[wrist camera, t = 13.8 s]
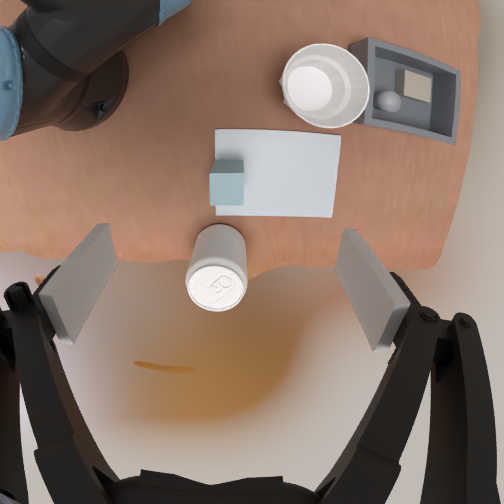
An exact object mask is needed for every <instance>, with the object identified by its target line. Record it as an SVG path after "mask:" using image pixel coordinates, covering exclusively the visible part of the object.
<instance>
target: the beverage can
mask: <svg viewBox="0 0 504 504" xmlns="http://www.w3.org/2000/svg"><path fill="white" fill-rule="evenodd" d="M186 287H187V290H188V293H189V295H190V297H191V299H192V300H193V301H194V302H195V303H196V304H197V305H198V306H200V307H202V308H204V309H206V310H210V311H224V310H228V309H230V308H232V307H234V306H235V305H237V304H238V303H239V302H240V300H241V298H242V297H243V295H244V294H245V292H246V289H247V264H246V245H245V241H244V238H243V236H242V235H241V234H240V233H239V232H238V231H237V230H236V229H234V228H233V227H231V226H228V225H223V224H217V225H212V226H209V227H207V228H205V229H204V230H203V231H201V233H200V234H199V235H198V237H197V239H196V242H195V245H194V249H193V252H192V256H191V260H190V263H189V267H188V271H187V274H186Z"/></svg>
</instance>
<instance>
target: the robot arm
mask: <svg viewBox="0 0 504 504" xmlns="http://www.w3.org/2000/svg"><path fill="white" fill-rule="evenodd" d="M21 1H22V2H24V3H25V4H26V5H28V7H27V8H26V9H25V10H24V11H23V12H22V13H21V14H20V16H19V17H18V18H17V19H16V20H15V21H14V22H13V23H12V25H11V26H10V27H9V28H7V27H0V141H4V140H7V139H8V138H10V137H12V136H15V135H18V134H22V133H25V132H28V131H32V130H36V129H39V128H43V127H47V126H51V125H52V126H55V127H58V128H61V129H63V130H67V131H80V130H84V129H88V128H92V127H94V126H97V125H98V124H100V123H102V122H103V121H105V120H106V119H107V118H108V117H109V116H110V115H111V114H112V113H113V112H114V111H115V110H116V108H117V107H118V105H119V104H120V102H121V100H122V98H123V96H124V93H125V91H126V87H127V83H128V64H127V60H126V57H125V55H124V53H123V52H122V50H121V49H122V48H124V47H125V46H127V45H128V44H129V43H131V42H132V41H134V40H135V39H137V38H138V37H140V36H141V35H143V34H144V33H146V32H147V31H149V30H150V29H152V28H153V27H155V26H157V27H158V26H160V25H161V24H163V22H164V20H166V19H168V18H169V17H171V16H172V15H174V14H176V13H177V12H179V11H181V10H182V9H184V8H186V7H187V6H188V5H189V4H190V3H191V2H192V0H21ZM116 267H117V261H116V256H115V251H114V246H113V240H112V235H111V229H110V224H97V225H96V226H95V228H94V229H93V230H92V231H91V232H90V233H89V234H88V235H87V236H86V237H85V238H84V240H83V241H82V242H81V243H80V244H79V245H78V246H77V247H76V249H75V250H74V251H73V252H72V253H71V254H70V255H69V257H68V258H67V259H66V260H65V261H64V263H63V264H62V265H59V266H58V267H56V268H55V269H53V270H52V271H51V272H50V273H49V275H48V276H47V278H45V279H44V281H43V283H41V284H40V286H39V287H38V288H37V290H36V291H35V292H34V293H33V295H32V294H31V291H30V289H29V286H28V284H27V283H26V282H18V283H14V284H13V285H11V286H10V287H8V288H7V289H6V291H5V292H4V298H5V300H6V302H7V304H8V306H9V308H10V310H6V311H2V310H1V308H0V504H29V501H28V491H27V484H26V478H25V471H24V464H23V457H22V446H21V433H20V407H19V405H20V404H19V402H20V399H19V398H20V384H21V388H22V393H23V397H24V401H25V405H26V409H27V413H28V416H29V420H30V423H31V427H32V430H33V433H34V436H35V438H36V442H37V446H38V449H37V450H35V451H34V456H35V460H36V463H37V465H38V468H39V471H40V473H41V475H42V478H43V480H44V483H45V485H46V487H47V489H48V491H49V494H50V496H51V498H52V500H53V502H54V504H385V502H386V500H387V498H388V496H389V494H390V492H391V491H392V489H393V486H394V484H395V482H396V480H397V478H398V476H399V473H400V471H401V466H400V465H399V459H400V457H401V455H402V452H403V450H404V448H405V445H406V443H407V440H408V438H409V435H410V432H411V430H412V427H413V425H414V422H415V419H416V416H417V413H418V410H419V407H420V404H421V401H422V397H423V394H424V391H425V388H426V384H427V380H428V377H429V373H430V371H431V410H430V432H429V444H428V454H427V463H426V470H425V478H424V483H423V489H422V495H421V501H420V504H501V503H500V499H499V493H498V488H497V484H496V476H497V449H496V448H497V447H496V429H495V417H494V408H493V400H492V393H491V387H490V381H489V375H488V370H487V365H486V360H485V356H484V351H483V347H482V343H481V339H480V335H479V331H478V328H477V324H476V322H475V321H474V320H473V318H472V317H471V316H469V315H468V314H465V313H456V314H455V315H454V317H453V319H452V321H449V320H443V319H440V317H439V315H438V313H436V312H435V311H434V310H433V309H431V308H429V307H425V306H421V305H420V303H419V302H418V301H417V299H416V298H415V296H414V295H413V293H412V292H411V291H409V288H408V287H407V286H406V285H405V283H404V281H403V280H402V279H401V278H400V277H399V276H398V275H397V274H395V273H394V272H388V270H387V269H386V268H385V266H384V265H383V264H382V262H381V261H380V260H379V258H378V257H377V256H376V254H375V253H374V252H373V250H372V249H371V248H370V247H369V245H368V244H367V243H366V241H365V240H364V239H363V238H362V236H361V235H360V234H359V233H358V231H357V230H356V229H344V228H343V233H342V238H341V243H340V248H339V252H338V257H337V261H336V266H335V272H336V273H337V276H338V278H339V280H340V282H341V284H342V286H343V288H344V290H345V292H346V294H347V296H348V298H349V300H350V302H351V304H352V306H353V309H354V310H355V313H356V315H357V317H358V319H359V322H360V324H361V325H362V328H363V330H364V332H365V335H366V337H367V339H368V341H369V344H370V346H371V348H372V350H373V353H374V352H382V351H388V350H389V348H390V346H391V344H392V342H394V344H395V346H396V349H395V351H394V353H393V354H392V356H391V358H390V360H389V362H388V367H387V369H386V372H385V373H384V376H383V378H382V380H381V382H380V384H379V386H378V389H377V391H376V393H375V395H374V397H373V399H372V401H371V403H370V405H369V407H368V409H367V411H366V413H365V414H364V417H363V418H362V420H361V422H360V424H359V425H358V427H357V429H356V431H355V432H354V434H353V436H352V438H351V439H350V441H349V443H348V444H347V446H346V448H345V449H344V451H343V452H342V454H341V456H340V457H339V459H338V460H337V462H336V464H335V465H334V467H333V468H332V469H331V471H330V472H329V474H328V475H327V476H326V477H325V479H324V480H323V481H322V482H321V484H320V485H319V486H318V487H317V489H316V490H315V491H314V492H313V491H311V490H309V489H307V488H304V487H302V486H299V485H296V484H291V483H286V482H283V477H282V476H276V477H256V478H245V479H240V480H236V481H231V482H226V483H221V484H215V485H207V484H204V483H200V482H196V481H193V480H190V479H187V478H184V477H181V476H178V475H175V474H169V473H161V472H154V471H148V470H142V469H141V474H140V476H134V477H129V478H125V479H122V480H120V479H119V478H118V477H117V475H116V474H115V473H114V472H113V470H112V469H111V468H110V467H109V465H108V464H107V462H106V461H105V459H104V457H103V455H102V453H101V452H100V450H99V448H98V447H97V444H96V442H95V441H94V439H93V437H92V435H91V433H90V431H89V429H88V427H87V425H86V423H85V421H84V418H83V416H82V414H81V412H80V410H79V407H78V405H77V403H76V401H75V398H74V396H73V393H72V391H71V388H70V386H69V383H68V380H67V378H66V375H65V372H64V370H63V367H62V364H61V361H60V358H59V355H58V352H57V349H56V346H55V343H54V341H53V337H54V336H55V334H57V337H58V339H59V340H60V343H65V344H71V345H74V343H75V341H76V339H77V337H78V335H79V333H80V331H81V329H82V327H83V325H84V323H85V321H86V320H87V318H88V316H89V314H90V312H91V310H92V308H93V307H94V305H95V303H96V301H97V299H98V298H99V296H100V294H101V292H102V290H103V289H104V287H105V285H106V284H107V282H108V280H109V278H110V277H111V275H112V273H113V272H114V270H115V268H116Z"/></svg>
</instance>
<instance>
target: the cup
mask: <svg viewBox="0 0 504 504" xmlns="http://www.w3.org/2000/svg"><path fill="white" fill-rule="evenodd" d="M278 82H279V83H280V85H281V86H282V91H283V96H284V100H283V104H286V105H287V106H288V107H289V108H290V109H291V110H292V111H293V112H295V113H296V114H297V115H298V116H299V117H301V118H302V119H303V120H305V121H306V122H308V123H310V124H313V125H315V126H318V127H323V128H338V127H342V126H345V125H347V124H350V123H352V122H353V121H354V120H356V119H357V118H358V117H359V116H360V115H361V113H362V112H363V111H364V109H365V108H366V105H367V102H368V100H369V92H370V86H369V80H368V76H367V74H366V72H365V70H364V67H363V66H362V65H361V63H360V62H359V61H358V59H357V58H356V57H354V56H353V55H352V54H351V53H349V52H348V51H347V50H345V49H343V48H340V47H338V46H336V45H331V44H326V43H323V44H312V45H309V46H306V47H303V48H302V49H300V50H299V51H297V52H296V53H295V54H294V55H293V56H292V57H291V58H290V60H289V61H288V62H287V64H286V67H285V69H284V71H283V74H282V76H281V78H280V80H279V81H278Z"/></svg>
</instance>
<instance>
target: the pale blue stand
mask: <svg viewBox="0 0 504 504" xmlns="http://www.w3.org/2000/svg"><path fill="white" fill-rule="evenodd" d="M340 143H341V136H340V135H333V134H323V133H312V132H300V131H285V130H262V129H215V162H214V164H213V166H212V168H211V171H210V173H209V181H210V206H216V215H240V216H301V217H332V212H333V205H334V197H335V189H336V181H337V172H338V163H339V154H340Z"/></svg>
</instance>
